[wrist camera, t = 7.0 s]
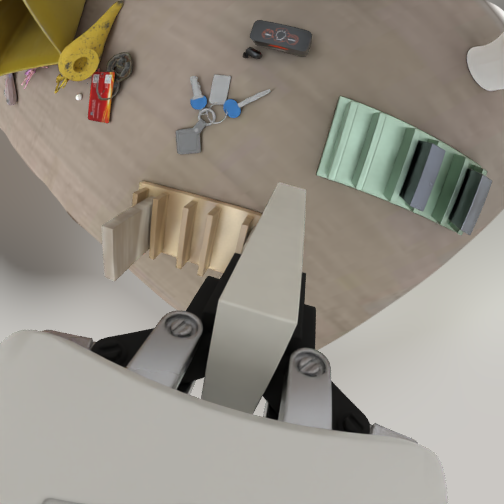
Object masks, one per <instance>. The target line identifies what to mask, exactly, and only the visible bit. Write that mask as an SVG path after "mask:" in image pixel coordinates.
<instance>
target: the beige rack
mask: <svg viewBox="0 0 504 504" xmlns="http://www.w3.org/2000/svg"><path fill="white" fill-rule="evenodd" d="M261 215H262V213H259V212H256V211H252V210H249V209H245V208H242V207H239V206H235V205H232V204H228V203H225V202H221V201H218V200H214V199H210V198H207V197H203V196H200V195H196V194H192V193H188V192H185V191H181V190H177V189H173V188H170V187H166V186H162V185H158V184H154V183H150V182H146V181H141V182H139V190H138V191H136V192H134V193H133V200H132V207H131V208H129V209H128V210H126V211H124V212H123V213H121V214H119V215H118V216H116V217H114V218H113V219H111V220H110V221H108V222H106V223H105V224H103V225H102V244H103V260H104V272H105V277H106V278H108V279H111V280H113V281H116V280H117V279H118V278H119V277H120V276H121V275H122V274H123V273H124V272H125V271H126V270H127V269H128V268H129V267H130V266H131V265H132V264H133V263H134V262H136V261H137V260H138V259H139V258H140V257H141V256H142V255H143V254H144V253H145V252H146V251H147V250H148V249H150V250H149V258H151V259H153V260H154V259H155V258H156V257H157V256H158V255H159V254H160V253H161V252H162V253H165V254H168V255H171V256H174V257H177V262H176V268H179V269H181V268H182V267H183V266H184V265H185V263H186V262H187V261H188V262H191V263H194V264H197V265H199V266H198V273H197V275H199V276H203V275H204V274H205V272H206V270H207V269H208V268H209V269H212V270H215V271H219V272H222V273H224V271H225V269H226V268H227V266H228V264H229V262H230V260H231V259H232V257H233V255H234V253H238V254H242V253H243V251H244V249H245V247H246V245H247V243H248V241H249V239H250V237H251V235H252V233H253V231H254V229H255V227H256V225H257V223H258V221H259V219H260V217H261Z"/></svg>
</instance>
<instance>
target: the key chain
mask: <svg viewBox="0 0 504 504" xmlns="http://www.w3.org/2000/svg"><path fill="white" fill-rule="evenodd" d="M197 79H198V77H197V78H196V76H192V77H190V80H191V85H192V89H193V93H194V96H193V98H192V100H191V106H192V107H193V108H194V109H200V110H199V115H198V120H199V121H198V122H197V124H196V125H195V126H194V127H193V128H190V129H182V130H177V131H176V142H177V153H178V154H190V153H199V152H201V145H200V133H201V131H202V130H203V129H204V128H205V127H206V126H210V125H211V124H213V123H220V122H222V121H223V120H224V119H225V118H226V116H227V115H228V116H229V117H231V118H236V117H238V116H239V115H240V113H241V107H243V106H245V105H247V104H248V103H250V102H253V101H255V100H257V99H258V98H260V97H262V96H264V95H266V94H268V93H269V92H271V91H270V89H268V90H266V91H263V92H259V93H257V94H256V95H254V96H252V97H250V98H247V99H245V100H244V101H242V102H240V103H238V104H237V102H236V101H235V100H232V99H229V100H227V101H226V99H227V94H228V89H229V84H230V79H231V76H224V75H214V78H213V83H212V88H211V93H210V98H209V102H210V103H212V104H213V105H215V104H217V105H223V106H224V111H225V109H226V111H225V113H226V116H225V118H224V119H223V120H222V121H220V122H214V121H215V118H216V116H215V112H214V111H213V110H212V109H210V108H211V106H213V105H211V106H210V107H209V108H204V107H205V106H206V104H207V98H206V96H203V95H202V92H201V90H199V89H200V87H201V86H200V85H199V86H198V84H199V82H197ZM215 102H217V103H215ZM202 109H203V110H202ZM204 111H206V113H207V118H208V119H209V117H208V111H210V112H211V113H212V114H213V120H212V121H211V120H210V119H209V121H210V123H206V122H205V121H204V120H202V119H201V115H205V114H206V113H205V114H202V113H203V112H204ZM227 112H228V114H227Z"/></svg>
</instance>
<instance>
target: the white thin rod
mask: <svg viewBox="0 0 504 504" xmlns="http://www.w3.org/2000/svg"><path fill="white" fill-rule="evenodd" d="M99 70H100V68H99V69H98V71H99ZM98 71H97V72H98ZM90 78H92V77H90ZM87 84H88V83H87ZM81 98H82V95H81V94H77V95H76V100H80V99H81Z"/></svg>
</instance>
